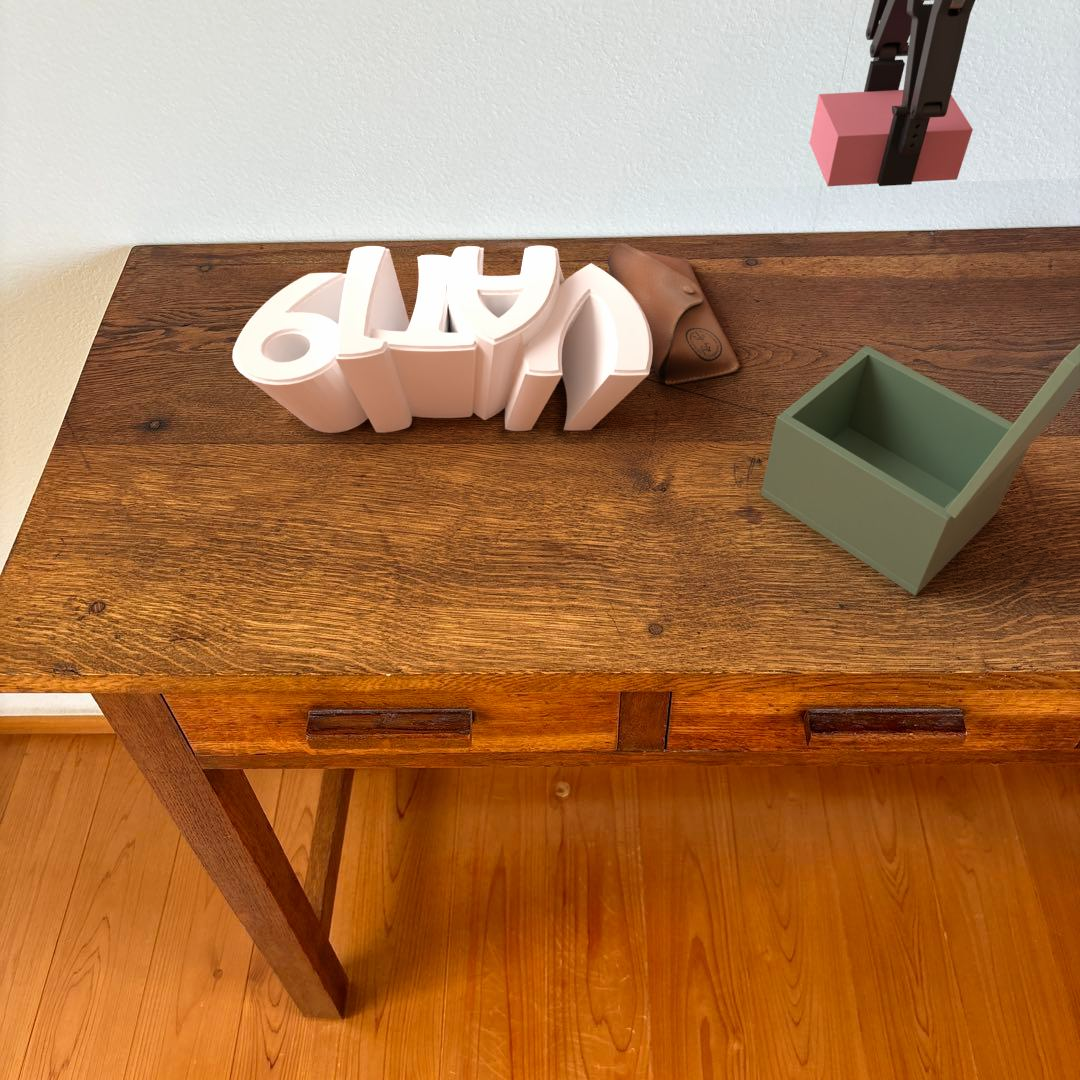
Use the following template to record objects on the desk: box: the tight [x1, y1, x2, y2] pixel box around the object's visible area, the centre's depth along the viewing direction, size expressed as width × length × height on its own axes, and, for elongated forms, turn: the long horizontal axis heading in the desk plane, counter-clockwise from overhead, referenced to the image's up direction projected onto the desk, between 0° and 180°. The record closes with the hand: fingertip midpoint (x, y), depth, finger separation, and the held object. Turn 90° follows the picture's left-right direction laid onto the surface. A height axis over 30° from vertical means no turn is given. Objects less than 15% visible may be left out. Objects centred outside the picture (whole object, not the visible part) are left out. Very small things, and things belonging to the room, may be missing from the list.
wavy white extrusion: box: [232, 245, 653, 434], centre depth 88 cm, size 35×16×11 cm, turn 86°
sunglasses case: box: [606, 243, 740, 386], centre depth 96 cm, size 18×7×7 cm
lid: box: [946, 343, 1080, 518], centre depth 65 cm, size 15×12×1 cm
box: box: [760, 344, 1030, 596], centre depth 79 cm, size 15×12×9 cm
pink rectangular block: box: [809, 89, 974, 187], centre depth 86 cm, size 11×7×4 cm, turn 93°
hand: (882, 158), depth 87 cm, fingers closed on pink rectangular block, 7 cm apart
